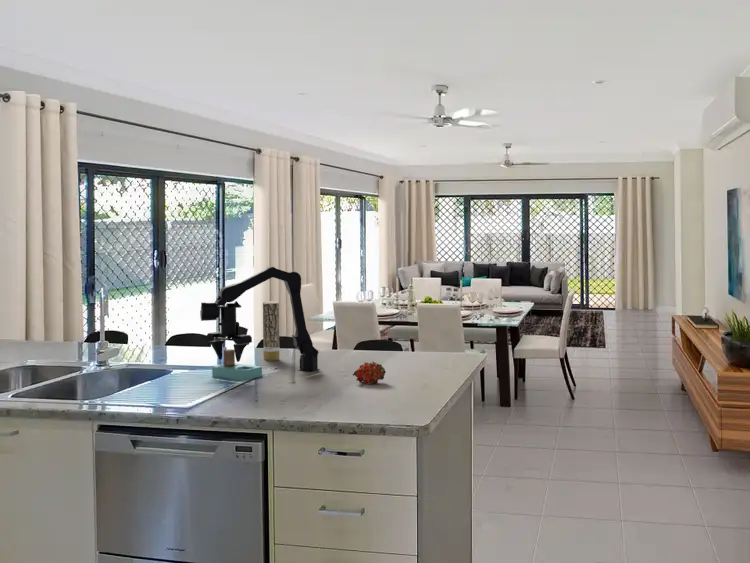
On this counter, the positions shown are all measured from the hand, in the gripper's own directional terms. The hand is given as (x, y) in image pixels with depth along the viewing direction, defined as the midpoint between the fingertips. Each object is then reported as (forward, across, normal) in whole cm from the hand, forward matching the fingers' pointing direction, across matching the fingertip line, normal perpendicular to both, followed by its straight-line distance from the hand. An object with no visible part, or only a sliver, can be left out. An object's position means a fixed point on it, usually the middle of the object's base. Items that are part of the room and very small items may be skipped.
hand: (229, 360), depth 285 cm
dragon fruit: (+6, -53, -17) cm, 56 cm away
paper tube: (+6, +11, -36) cm, 39 cm away
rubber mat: (+6, -6, -12) cm, 15 cm away
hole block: (+6, -4, 0) cm, 7 cm away
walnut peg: (+6, 0, 0) cm, 6 cm away
